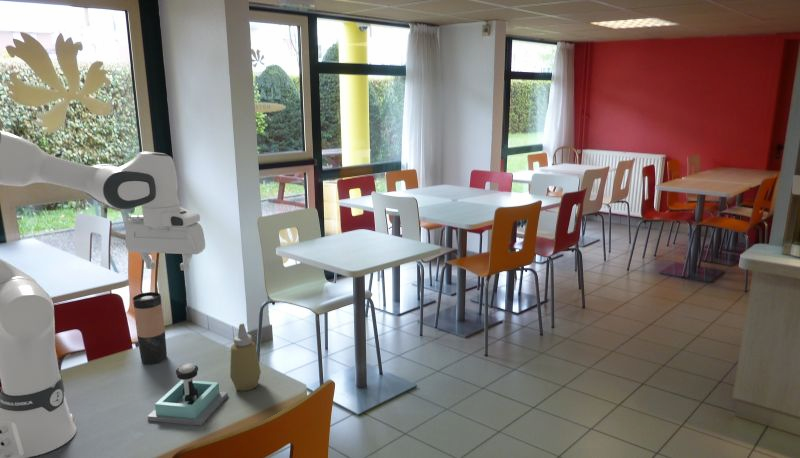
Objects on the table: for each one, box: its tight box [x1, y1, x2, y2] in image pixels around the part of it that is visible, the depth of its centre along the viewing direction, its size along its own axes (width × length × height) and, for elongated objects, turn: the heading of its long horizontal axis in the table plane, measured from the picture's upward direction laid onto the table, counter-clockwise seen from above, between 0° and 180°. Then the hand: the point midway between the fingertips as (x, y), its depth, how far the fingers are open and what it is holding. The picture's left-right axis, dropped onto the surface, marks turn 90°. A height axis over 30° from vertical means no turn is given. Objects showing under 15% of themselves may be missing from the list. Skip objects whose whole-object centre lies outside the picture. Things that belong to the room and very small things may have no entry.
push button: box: [175, 362, 199, 405], centre depth 145 cm, size 7×5×10 cm
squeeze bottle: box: [229, 323, 262, 392], centre depth 155 cm, size 8×8×18 cm
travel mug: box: [132, 291, 168, 365], centre depth 171 cm, size 8×8×20 cm
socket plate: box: [147, 379, 229, 426], centre depth 146 cm, size 14×14×4 cm
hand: (167, 269), depth 147 cm, fingers open, 8 cm apart
